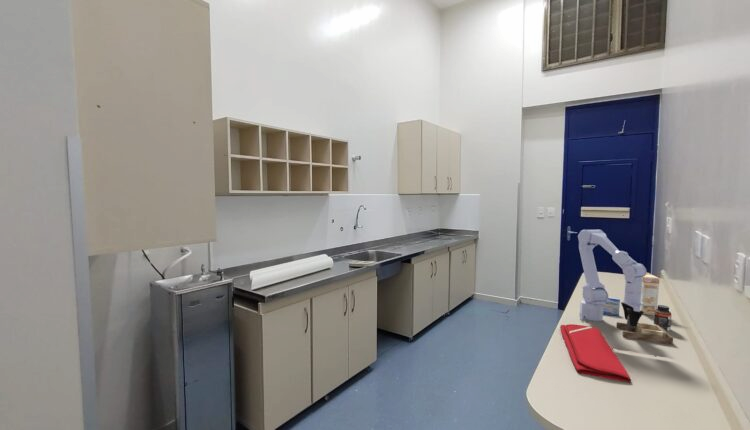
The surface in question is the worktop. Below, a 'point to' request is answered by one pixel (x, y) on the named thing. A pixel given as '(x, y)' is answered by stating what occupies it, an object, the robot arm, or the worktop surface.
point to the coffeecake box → (649, 294)
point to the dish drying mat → (592, 353)
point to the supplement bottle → (662, 317)
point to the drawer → (646, 329)
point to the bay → (645, 335)
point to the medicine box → (611, 306)
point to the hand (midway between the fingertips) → (630, 322)
